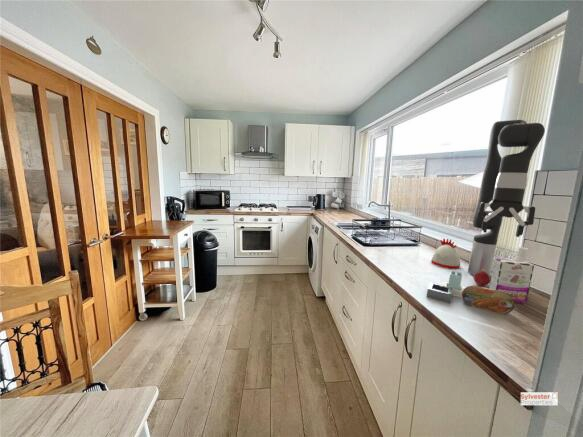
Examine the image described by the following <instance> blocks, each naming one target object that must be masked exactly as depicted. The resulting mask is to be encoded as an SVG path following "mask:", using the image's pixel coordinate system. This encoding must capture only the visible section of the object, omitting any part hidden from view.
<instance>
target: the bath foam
mask: <svg viewBox="0 0 583 437" xmlns="http://www.w3.org/2000/svg"><path fill="white" fill-rule="evenodd" d="M528 254H529V248H527V247H523V246H520V247H518V251H517V255H516V256H514V257H513V258H512V259H511V260H520V261H527V262H529V263H531V262H530V260H529V258H528V257H527V256H528Z"/></svg>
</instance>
